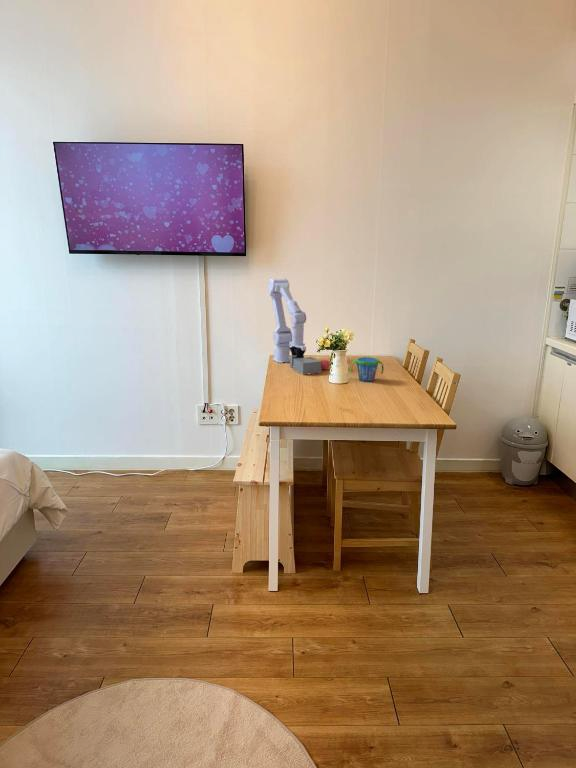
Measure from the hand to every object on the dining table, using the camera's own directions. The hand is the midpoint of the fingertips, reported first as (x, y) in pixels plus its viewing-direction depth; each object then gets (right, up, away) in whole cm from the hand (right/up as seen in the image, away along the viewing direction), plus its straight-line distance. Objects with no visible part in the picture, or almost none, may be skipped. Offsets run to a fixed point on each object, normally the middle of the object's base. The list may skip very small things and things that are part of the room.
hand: (297, 361), depth 293 cm
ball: (+14, -2, -4) cm, 15 cm away
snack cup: (+33, -10, -21) cm, 40 cm away
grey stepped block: (+3, -5, -5) cm, 8 cm away
